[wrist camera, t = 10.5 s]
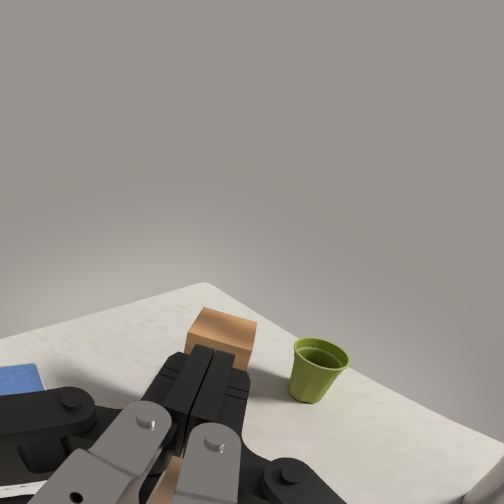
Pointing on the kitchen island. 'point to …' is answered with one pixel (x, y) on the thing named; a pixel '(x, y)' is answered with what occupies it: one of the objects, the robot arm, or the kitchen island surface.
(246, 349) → the block
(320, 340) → the plant pot
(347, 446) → the kitchen island surface
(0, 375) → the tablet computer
